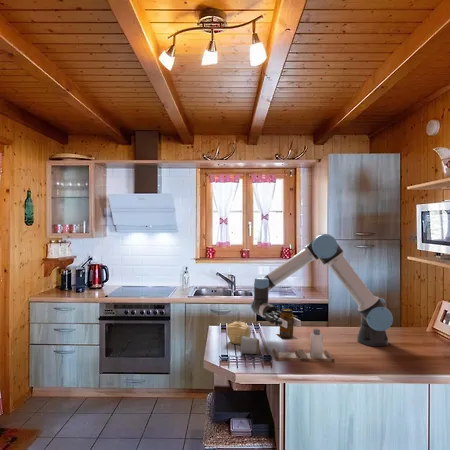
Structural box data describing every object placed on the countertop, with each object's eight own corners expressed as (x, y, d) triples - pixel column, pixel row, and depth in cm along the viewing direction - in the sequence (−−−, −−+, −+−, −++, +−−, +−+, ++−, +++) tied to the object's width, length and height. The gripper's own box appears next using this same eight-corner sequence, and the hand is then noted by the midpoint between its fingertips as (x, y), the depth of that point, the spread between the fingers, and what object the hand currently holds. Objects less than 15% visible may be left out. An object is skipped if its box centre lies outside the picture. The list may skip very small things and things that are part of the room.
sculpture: (224, 344, 178) (224, 322, 178) (232, 337, 189) (233, 317, 189) (245, 347, 174) (246, 325, 174) (253, 340, 185) (253, 320, 185)
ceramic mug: (258, 357, 161) (258, 340, 162) (240, 355, 163) (240, 338, 163) (260, 349, 172) (260, 333, 172) (243, 348, 173) (243, 332, 173)
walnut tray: (326, 355, 165) (326, 349, 165) (334, 364, 153) (334, 359, 153) (272, 354, 166) (272, 348, 166) (275, 363, 154) (276, 358, 154)
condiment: (290, 333, 165) (290, 307, 165) (298, 339, 157) (298, 312, 157) (275, 334, 164) (276, 308, 164) (282, 340, 155) (282, 312, 155)
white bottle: (320, 354, 163) (321, 327, 163) (324, 358, 157) (324, 331, 157) (308, 353, 163) (309, 327, 163) (311, 358, 157) (311, 331, 157)
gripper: (286, 318, 180) (311, 331, 159) (251, 321, 174) (273, 334, 152) (286, 303, 180) (312, 314, 159) (252, 305, 174) (274, 317, 152)
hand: (293, 324), depth 155 cm, fingers closed on condiment, 6 cm apart
